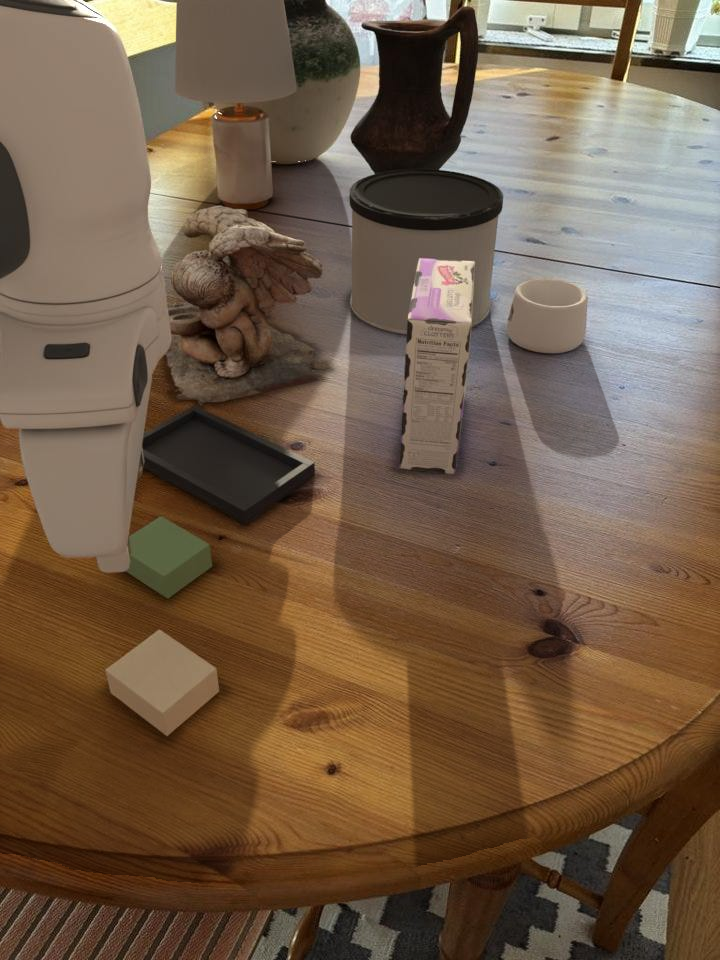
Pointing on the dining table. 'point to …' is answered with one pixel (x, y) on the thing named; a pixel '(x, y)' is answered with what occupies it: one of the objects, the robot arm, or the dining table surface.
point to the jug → (417, 94)
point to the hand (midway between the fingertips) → (124, 515)
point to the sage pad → (167, 556)
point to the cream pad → (162, 681)
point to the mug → (548, 316)
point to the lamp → (236, 85)
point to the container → (418, 238)
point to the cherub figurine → (237, 309)
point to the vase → (313, 84)
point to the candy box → (436, 364)
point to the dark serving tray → (223, 463)
